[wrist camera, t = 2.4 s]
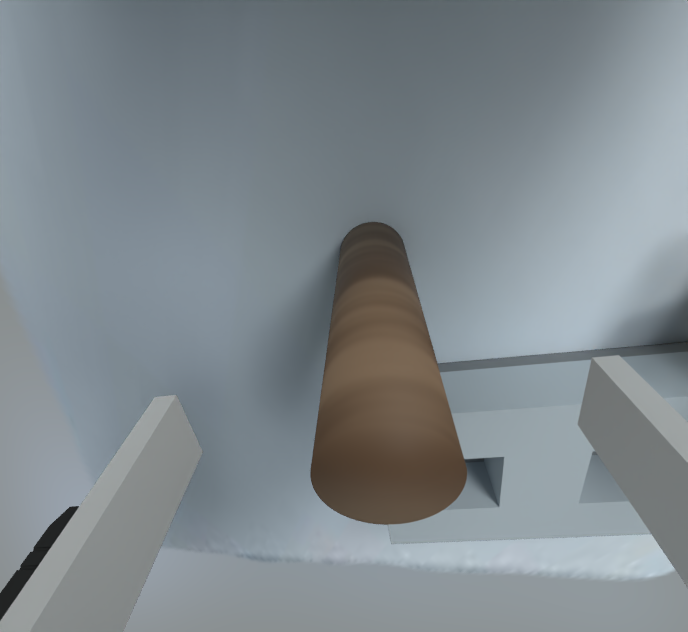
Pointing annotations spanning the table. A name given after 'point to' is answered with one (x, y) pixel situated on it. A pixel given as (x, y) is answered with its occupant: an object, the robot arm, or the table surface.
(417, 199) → the table surface
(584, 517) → the hole block
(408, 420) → the pin
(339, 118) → the table surface
